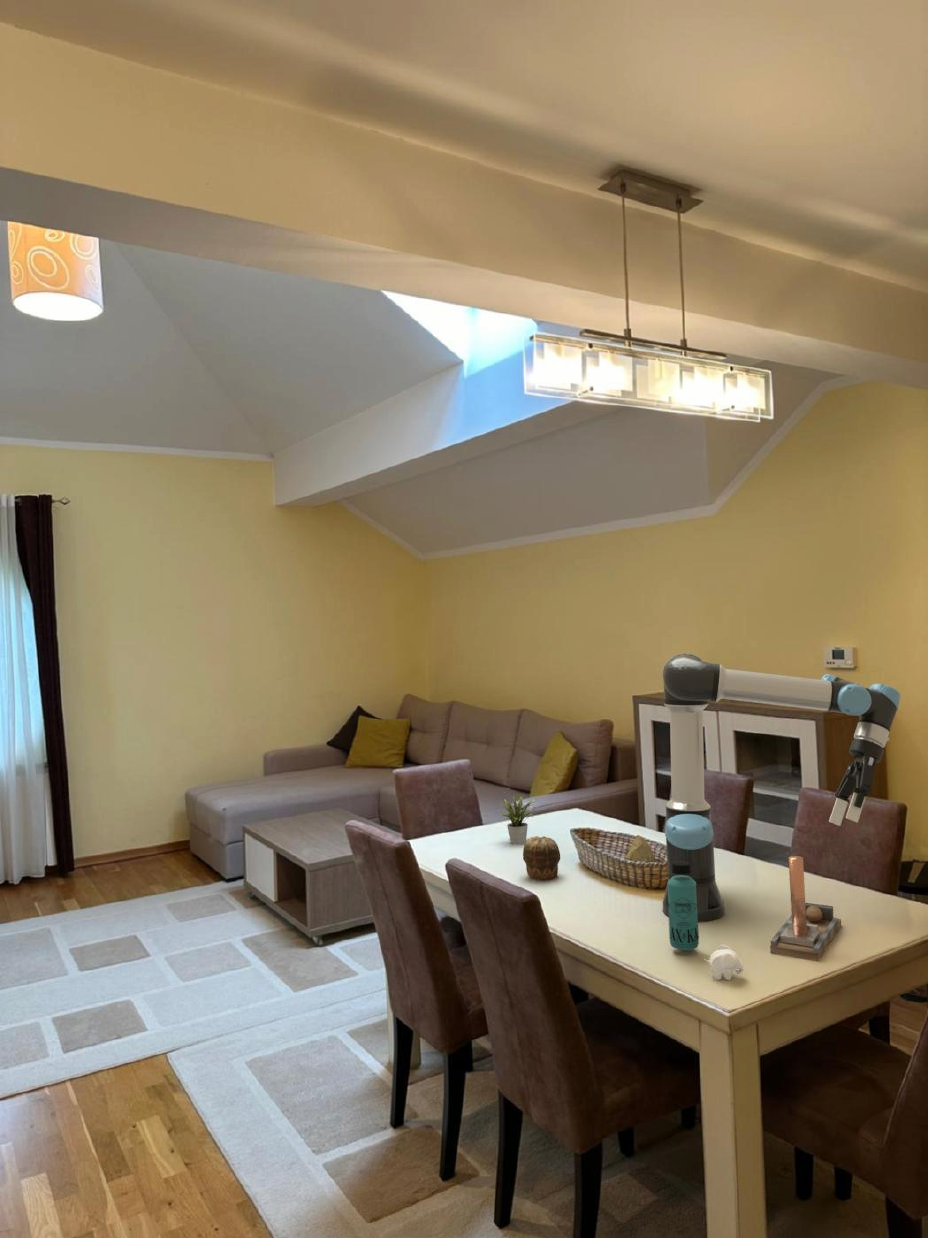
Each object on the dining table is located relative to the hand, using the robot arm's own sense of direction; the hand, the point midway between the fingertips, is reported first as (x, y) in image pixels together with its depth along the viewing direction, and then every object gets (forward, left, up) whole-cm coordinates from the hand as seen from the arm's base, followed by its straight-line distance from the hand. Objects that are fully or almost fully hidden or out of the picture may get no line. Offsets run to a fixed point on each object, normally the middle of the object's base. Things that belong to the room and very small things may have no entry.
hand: (842, 822), depth 212 cm
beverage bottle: (-39, -31, -22) cm, 55 cm away
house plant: (-94, +60, -22) cm, 114 cm away
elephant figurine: (-31, -44, -22) cm, 58 cm away
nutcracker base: (-12, -20, -22) cm, 32 cm away
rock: (-52, +31, -22) cm, 64 cm away
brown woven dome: (-80, +22, -22) cm, 86 cm away
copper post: (-14, -26, -20) cm, 36 cm away
